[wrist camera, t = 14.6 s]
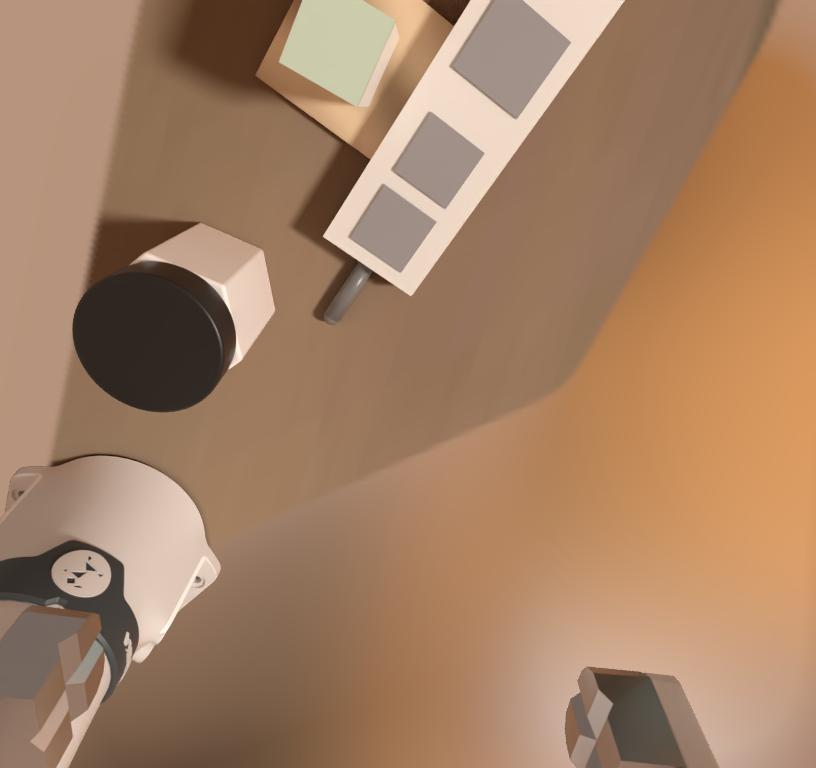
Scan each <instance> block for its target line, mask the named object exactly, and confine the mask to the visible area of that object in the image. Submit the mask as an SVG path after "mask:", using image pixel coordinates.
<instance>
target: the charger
mask: <svg viewBox="0 0 816 768" xmlns="http://www.w3.org/2000/svg"><path fill="white" fill-rule="evenodd" d="M398 40H399V34H398V30H397V26H396V22H395V20H394V19H392V18H391V17H389V16H388V15H386V14H384V13H383V12H381V11H379V10H378V9H376V8H375V7H373V6H371V5H370V4H368V3H366V2H365V1H363V0H302V3H301V5H300V8H299V10H298V13H297V16H296V18H295V21H294V23H293V26H292V29H291V31H290V34H289V37H288V39H287V42H286V44H285V47H284V50H283V52H282V55H281V57H280V60H279V63H281V64H283V65H285V66H286V67H288V68H290V69H292V70H293V71H295V72H297V73H299V74H300V75H302V76H304V77H305V78H307V79H309V80H311V81H312V82H314V83H316V84H318V85H319V86H321V87H323V88H325V89H326V90H328V91H330V92H332V93H333V94H335V95H337V96H338V97H340V98H342V99H344V100H345V101H347V102H349V103H351V104H352V105H354V106H356V107H368V106H369V104H370V102H371V100H372V97H373V95H374V93H375V91H376V89H377V86H378V84H379V82H380V80H381V77H382V75H383V73H384V71H385V69H386V66H387V64H388V62H389V60H390V58H391V55H392V53H393V51H394V49H395V47H396V44H397V42H398Z"/></svg>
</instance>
